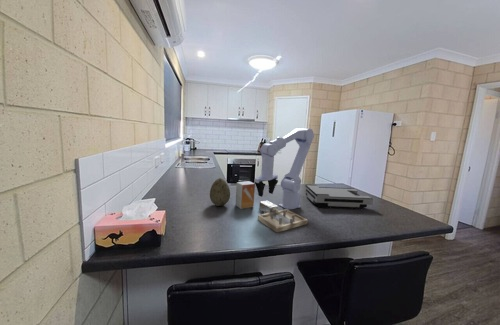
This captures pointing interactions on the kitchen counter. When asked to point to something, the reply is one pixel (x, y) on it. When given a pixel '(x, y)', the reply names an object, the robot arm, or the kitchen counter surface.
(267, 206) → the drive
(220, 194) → the decorative egg
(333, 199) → the game console
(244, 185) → the small box
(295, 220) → the tray
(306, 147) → the robot arm
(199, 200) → the kitchen counter surface
